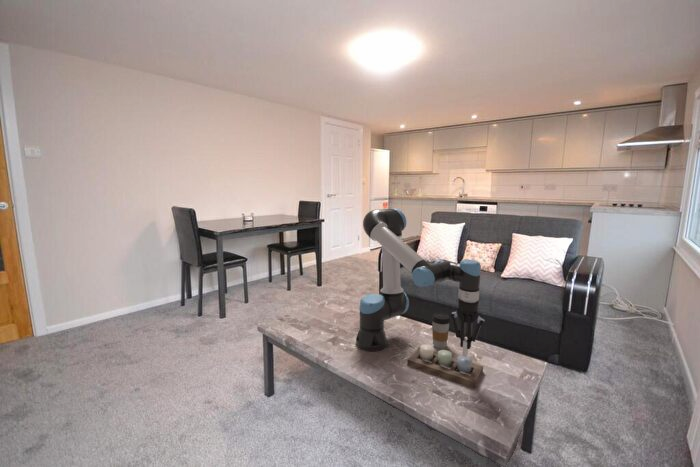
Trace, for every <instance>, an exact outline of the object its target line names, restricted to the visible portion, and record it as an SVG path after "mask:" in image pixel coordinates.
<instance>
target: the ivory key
mask: <svg viewBox="0 0 700 467" xmlns="http://www.w3.org/2000/svg"><path fill="white" fill-rule="evenodd" d="M419 347H420V357H421V358H420V359H421V360H424V361H428V360H429V361H431V359H432V358H433V351H434V347H433V346H432V345H430V344H421V345H420V346H419Z"/></svg>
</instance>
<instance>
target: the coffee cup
mask: <svg viewBox="0 0 700 467" xmlns="http://www.w3.org/2000/svg"><path fill="white" fill-rule="evenodd" d="M431 321H432V323H431V324H432V330H431V331H432V332H431V333H432V345H433V346H434V347H435V348H437V349H441V350H443V349H445V348H446V347H447V345H448V339H449V332H450V324H451V318H450V316H449V314H447V313H443V312H436V313H435V312H434V313H433V315H432V318H431Z"/></svg>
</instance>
